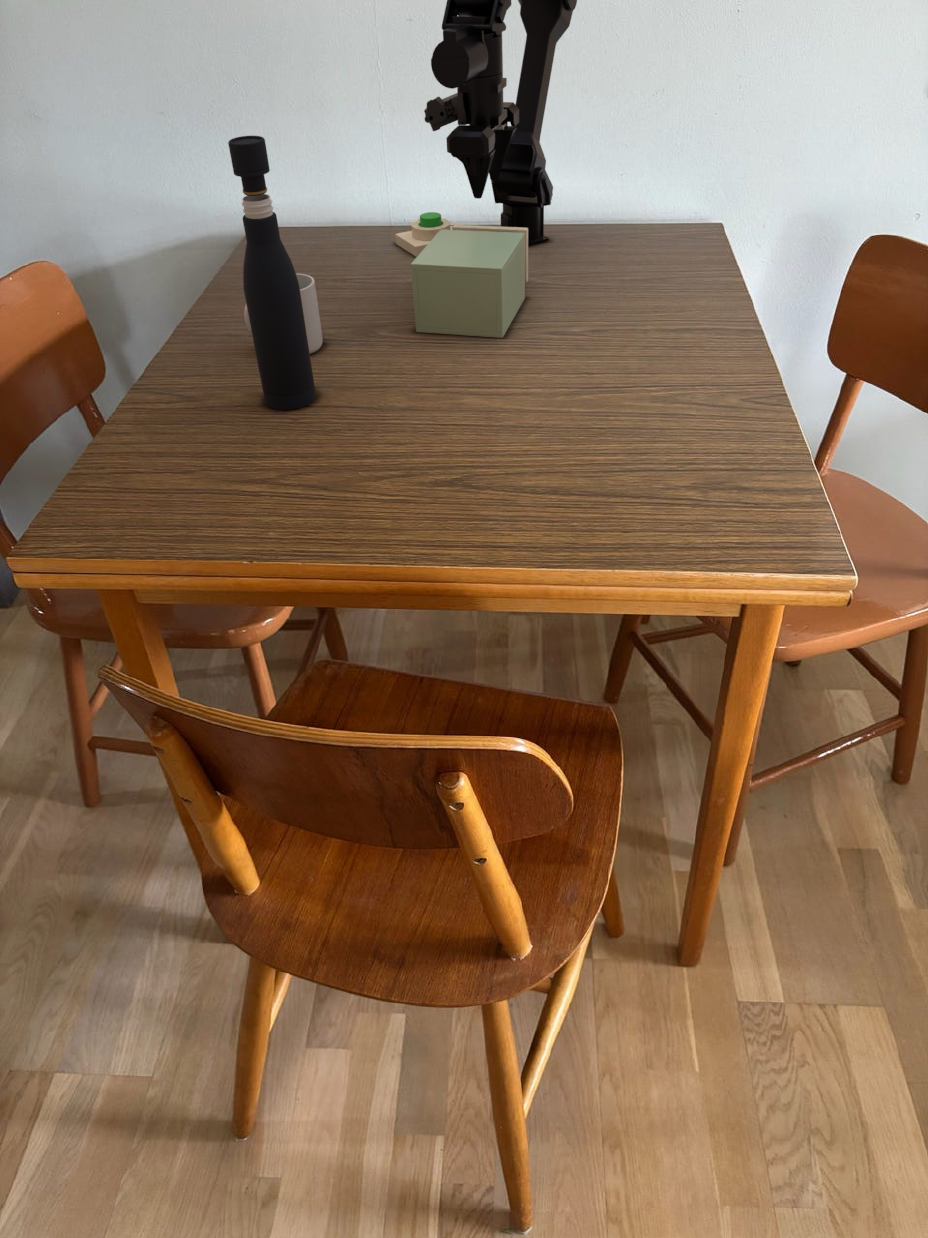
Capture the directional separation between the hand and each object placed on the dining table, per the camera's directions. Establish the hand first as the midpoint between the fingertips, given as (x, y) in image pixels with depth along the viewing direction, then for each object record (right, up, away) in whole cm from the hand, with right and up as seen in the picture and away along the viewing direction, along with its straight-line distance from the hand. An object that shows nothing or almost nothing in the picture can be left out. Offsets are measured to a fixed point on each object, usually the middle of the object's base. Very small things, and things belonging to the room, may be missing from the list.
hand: (486, 188), depth 146 cm
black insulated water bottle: (-25, -38, -25) cm, 52 cm away
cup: (-28, -28, -13) cm, 42 cm away
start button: (-9, +1, +16) cm, 18 cm away
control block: (-9, -2, +18) cm, 20 cm away
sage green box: (-2, -21, -7) cm, 23 cm away
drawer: (0, -16, -2) cm, 16 cm away
